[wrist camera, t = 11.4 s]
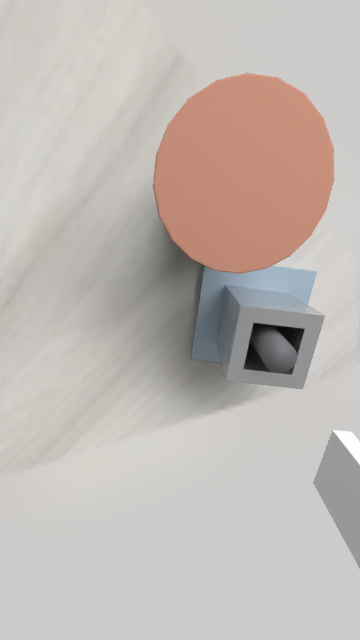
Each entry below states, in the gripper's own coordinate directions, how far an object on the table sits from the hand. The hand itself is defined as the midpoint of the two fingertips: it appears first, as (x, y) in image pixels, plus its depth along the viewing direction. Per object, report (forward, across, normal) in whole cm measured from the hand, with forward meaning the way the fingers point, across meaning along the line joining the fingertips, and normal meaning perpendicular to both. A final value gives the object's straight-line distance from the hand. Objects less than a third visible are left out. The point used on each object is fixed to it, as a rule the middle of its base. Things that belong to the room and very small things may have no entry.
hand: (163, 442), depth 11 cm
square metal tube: (+26, +11, -2) cm, 28 cm away
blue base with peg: (+27, +11, -2) cm, 29 cm away
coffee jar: (+27, +4, +11) cm, 30 cm away
